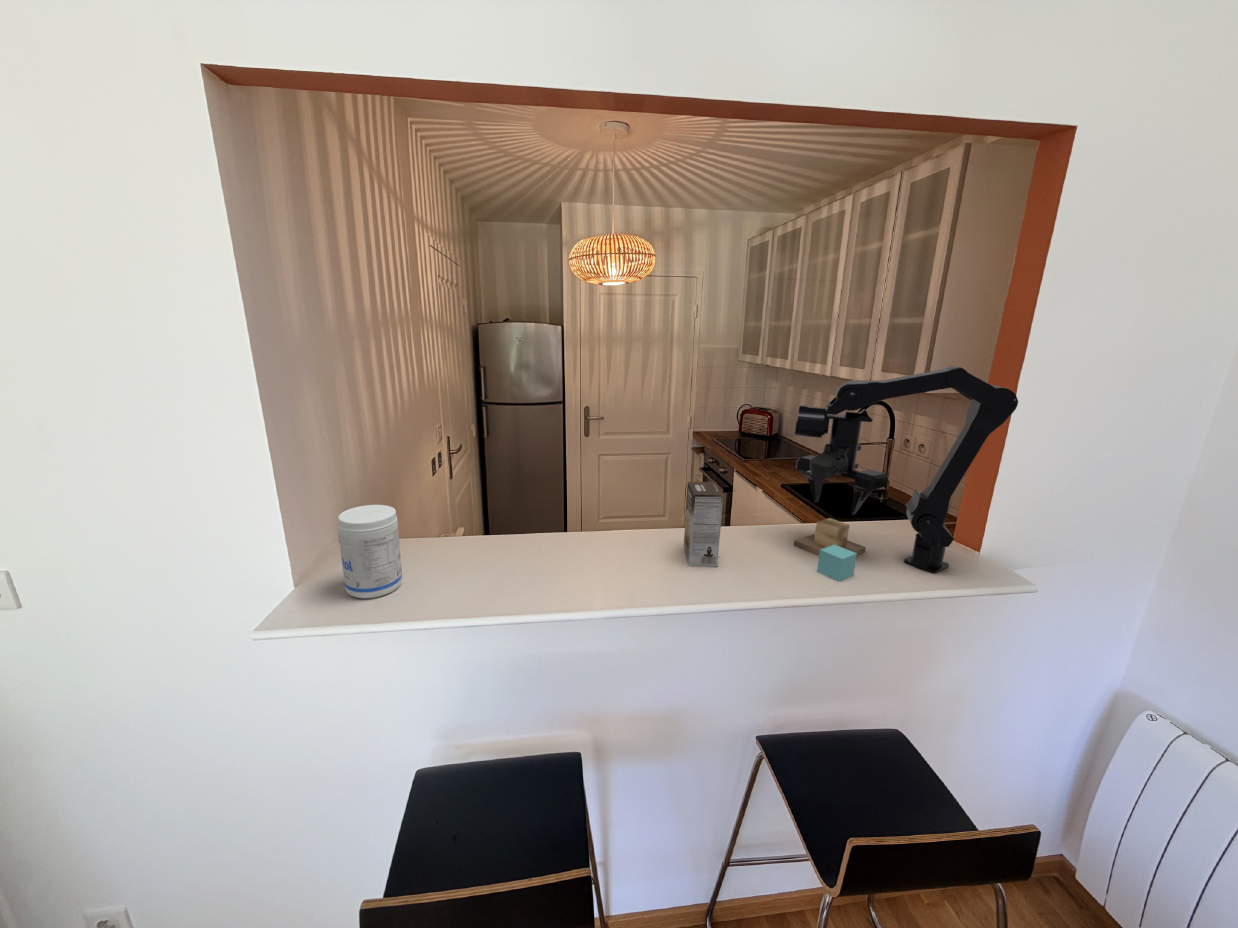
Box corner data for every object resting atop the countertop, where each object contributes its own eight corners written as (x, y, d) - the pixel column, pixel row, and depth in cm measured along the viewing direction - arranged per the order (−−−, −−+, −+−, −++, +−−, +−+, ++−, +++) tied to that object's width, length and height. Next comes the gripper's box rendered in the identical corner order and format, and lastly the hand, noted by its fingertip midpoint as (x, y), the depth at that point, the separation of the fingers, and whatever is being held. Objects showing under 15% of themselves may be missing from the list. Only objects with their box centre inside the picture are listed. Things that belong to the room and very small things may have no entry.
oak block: (826, 537, 116) (829, 518, 114) (846, 545, 112) (849, 524, 110) (813, 542, 113) (816, 522, 112) (833, 550, 109) (836, 529, 108)
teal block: (831, 566, 104) (834, 544, 103) (853, 575, 100) (856, 553, 99) (816, 571, 102) (819, 549, 100) (838, 581, 98) (842, 558, 96)
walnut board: (821, 538, 120) (822, 530, 120) (864, 555, 112) (865, 547, 111) (793, 548, 114) (794, 540, 114) (836, 566, 105) (838, 558, 105)
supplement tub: (337, 587, 90) (326, 512, 87) (388, 570, 97) (380, 500, 94) (360, 606, 84) (350, 527, 81) (413, 586, 92) (406, 512, 88)
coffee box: (682, 548, 111) (686, 480, 107) (710, 549, 111) (715, 481, 107) (688, 567, 102) (693, 493, 98) (718, 567, 102) (725, 494, 98)
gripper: (784, 435, 109) (776, 501, 113) (864, 453, 94) (852, 528, 98) (815, 431, 115) (806, 494, 119) (894, 447, 100) (882, 518, 104)
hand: (834, 507), depth 110 cm, fingers open, 9 cm apart
